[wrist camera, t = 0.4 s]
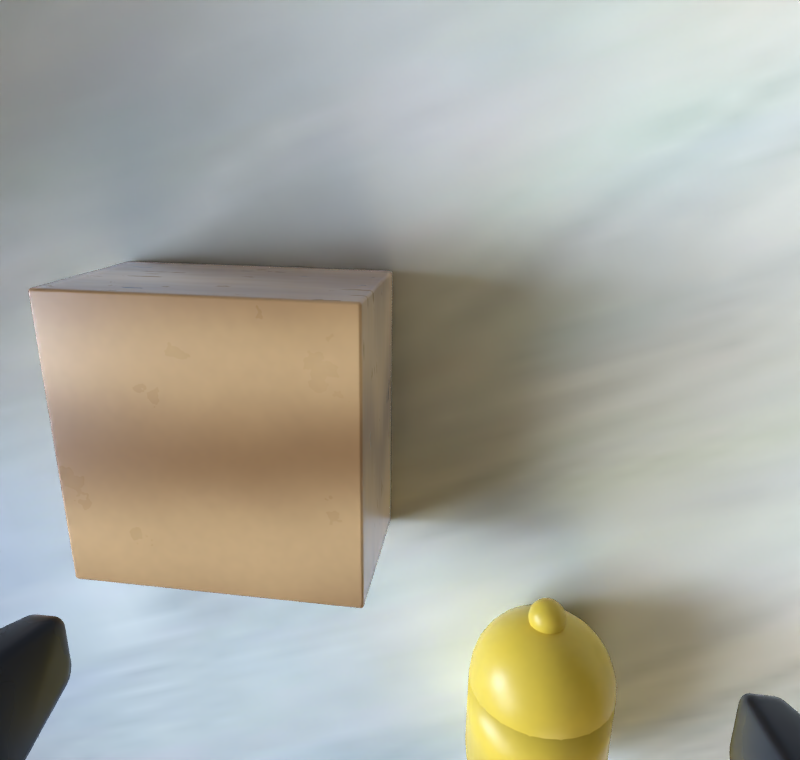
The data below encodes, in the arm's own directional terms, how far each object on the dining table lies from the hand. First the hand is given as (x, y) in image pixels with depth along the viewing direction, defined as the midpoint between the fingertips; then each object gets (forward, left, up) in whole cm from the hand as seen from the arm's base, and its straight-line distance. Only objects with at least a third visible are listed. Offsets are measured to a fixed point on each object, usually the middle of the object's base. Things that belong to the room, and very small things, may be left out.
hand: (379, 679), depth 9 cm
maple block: (-1, +6, -14) cm, 15 cm away
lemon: (-11, -4, -14) cm, 18 cm away
